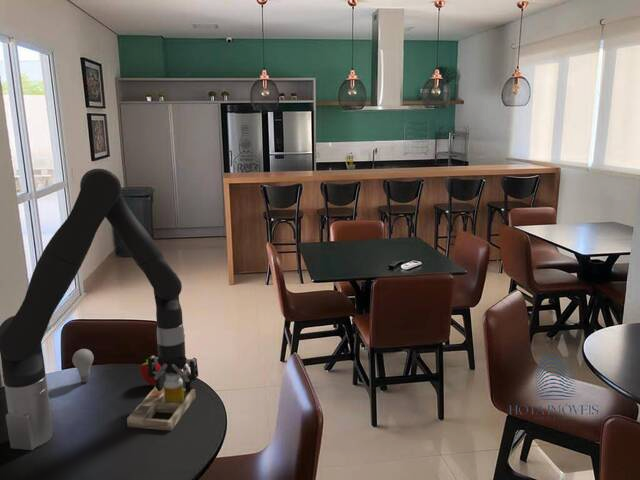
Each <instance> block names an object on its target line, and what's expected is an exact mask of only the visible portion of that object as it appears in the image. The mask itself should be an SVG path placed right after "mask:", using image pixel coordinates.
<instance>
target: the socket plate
mask: <svg viewBox="0 0 640 480" xmlns="http://www.w3.org/2000/svg"><path fill="white" fill-rule="evenodd" d="M183 390H184V400H183V402H182V403H172V402H165V393H164V386H163V389H162V390H161V391H158V389H156V386H154V388H153V389H152V390H151V391H150V392H149V393H148V394H147V396H146V397H145V398H144V399H143V400H142V401H141V402H140V403H139V404H138V405H137V406H136V408H135V409H134V410H133V411H132V412H131V413H130V414H129V416H127V418H126V421H127V428H139V429H150V430H151V429H152V430H161V431H170V432H171V431H172V430H173V429H174V427H175V426H176V425H177V424H178V422H180V419H181V418H182V416H183V415H184V414H185V412H186V411H187V409H188V408H189V407H190V406H191V404H192V403H193V401H195V399H196V398H197V397H196V389H195V388H192V390H191V391H190V392H189V393H186V391H185V388H184V387H183ZM156 413H162V414H163V413H165V414H172V415H171V416H170V418H169V419H161V418H153V417H154V416H155V414H156Z"/></svg>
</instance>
